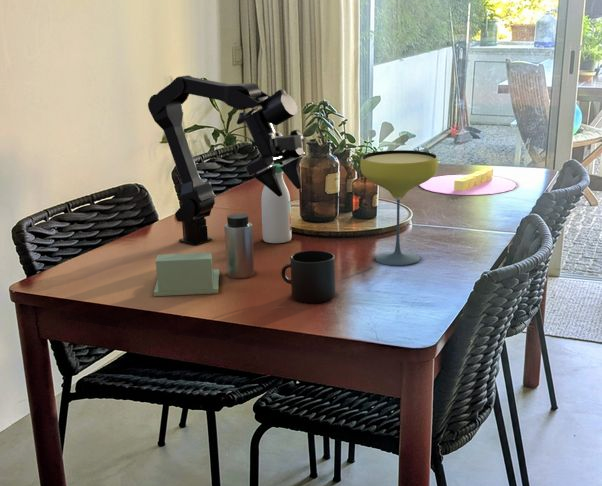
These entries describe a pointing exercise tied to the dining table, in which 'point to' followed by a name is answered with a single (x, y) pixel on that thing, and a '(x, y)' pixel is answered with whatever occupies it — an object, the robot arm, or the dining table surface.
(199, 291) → the pale green butter dish
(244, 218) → the steel travel tumbler
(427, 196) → the dining table surface
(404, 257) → the cocktail glass
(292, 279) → the mug
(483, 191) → the platter
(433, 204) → the dining table surface
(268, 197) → the milk bottle
